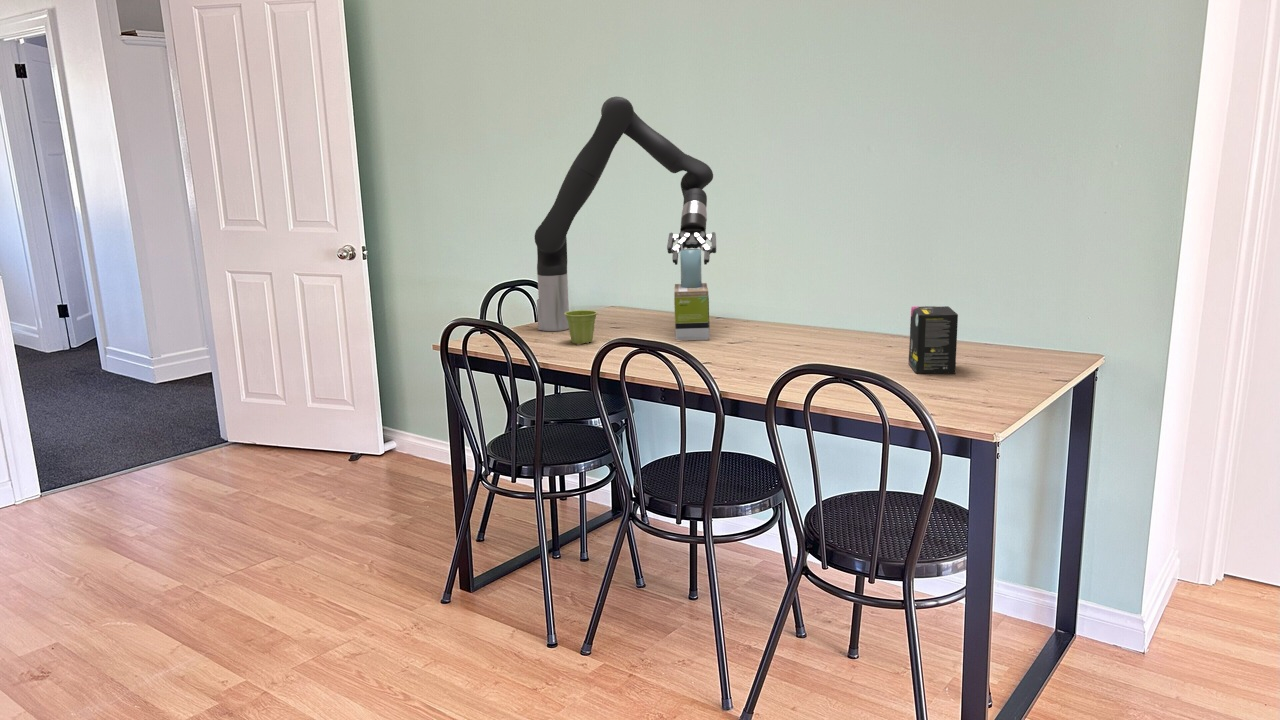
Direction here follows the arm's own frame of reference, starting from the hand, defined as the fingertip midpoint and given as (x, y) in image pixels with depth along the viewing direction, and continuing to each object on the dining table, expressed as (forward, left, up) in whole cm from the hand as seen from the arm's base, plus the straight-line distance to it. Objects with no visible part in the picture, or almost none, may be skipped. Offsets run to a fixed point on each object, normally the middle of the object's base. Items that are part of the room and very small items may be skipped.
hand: (690, 262), depth 264 cm
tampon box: (+62, -39, -22) cm, 76 cm away
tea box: (0, +1, -22) cm, 22 cm away
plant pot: (-31, -9, -22) cm, 39 cm away
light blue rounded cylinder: (0, +2, -7) cm, 7 cm away
